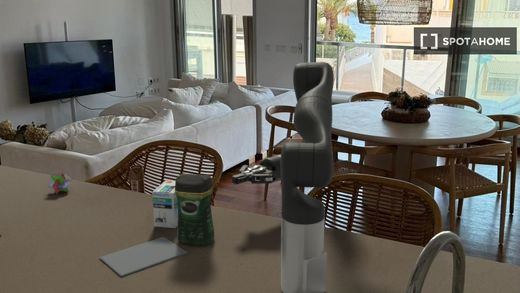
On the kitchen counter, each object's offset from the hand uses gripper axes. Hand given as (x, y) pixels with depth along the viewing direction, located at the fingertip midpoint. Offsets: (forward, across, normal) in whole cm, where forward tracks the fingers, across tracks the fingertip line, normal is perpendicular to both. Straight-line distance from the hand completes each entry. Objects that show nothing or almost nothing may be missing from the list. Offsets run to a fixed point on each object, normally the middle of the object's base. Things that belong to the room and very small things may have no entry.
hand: (233, 180), depth 141 cm
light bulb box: (+11, -16, +14) cm, 24 cm away
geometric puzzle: (+27, -62, +14) cm, 69 cm away
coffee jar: (+13, 0, +14) cm, 19 cm away
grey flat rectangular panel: (+28, -1, +14) cm, 31 cm away
